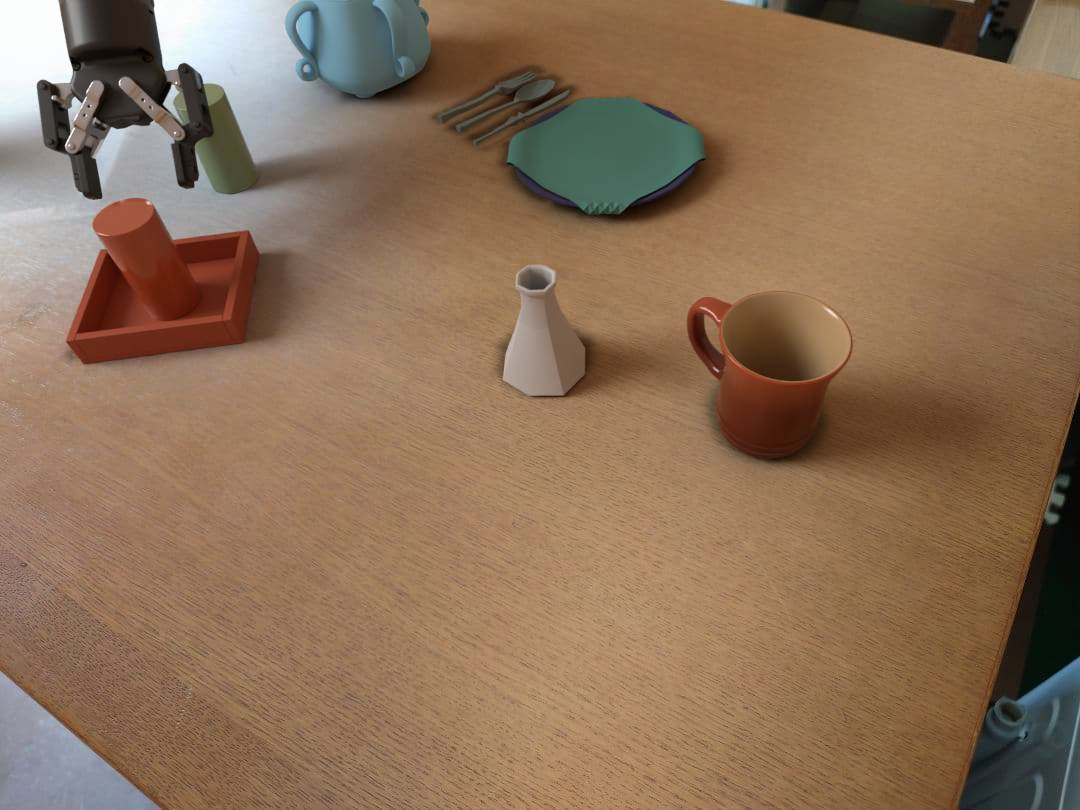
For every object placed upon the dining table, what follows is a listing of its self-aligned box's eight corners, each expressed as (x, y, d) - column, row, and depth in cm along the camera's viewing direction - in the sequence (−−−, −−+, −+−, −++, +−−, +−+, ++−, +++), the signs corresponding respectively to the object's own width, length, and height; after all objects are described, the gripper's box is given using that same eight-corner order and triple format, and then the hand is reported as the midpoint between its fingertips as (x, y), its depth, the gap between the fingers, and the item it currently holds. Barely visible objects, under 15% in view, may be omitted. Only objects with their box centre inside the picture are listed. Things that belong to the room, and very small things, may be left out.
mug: (843, 422, 60) (878, 329, 52) (778, 494, 56) (805, 405, 49) (716, 348, 66) (730, 254, 58) (650, 408, 62) (655, 317, 54)
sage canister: (208, 196, 85) (168, 113, 78) (216, 169, 89) (177, 86, 81) (256, 190, 85) (220, 106, 78) (261, 163, 89) (227, 80, 81)
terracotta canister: (141, 324, 72) (84, 239, 64) (152, 286, 76) (100, 201, 68) (197, 317, 72) (147, 231, 65) (206, 279, 76) (159, 193, 68)
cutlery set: (602, 249, 75) (602, 230, 73) (423, 132, 90) (419, 114, 88) (738, 161, 82) (740, 142, 80) (551, 66, 98) (550, 49, 96)
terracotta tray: (82, 364, 70) (64, 341, 68) (115, 272, 78) (100, 249, 76) (243, 342, 70) (231, 319, 68) (259, 253, 78) (249, 229, 76)
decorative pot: (290, 106, 96) (250, -7, 86) (333, 42, 106) (302, -67, 95) (416, 110, 94) (391, -7, 83) (448, 44, 103) (429, -68, 93)
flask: (521, 328, 69) (510, 239, 61) (598, 346, 67) (597, 256, 59) (489, 387, 65) (472, 299, 57) (570, 408, 63) (564, 320, 55)
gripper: (0, 0, 65) (37, 195, 67) (169, -20, 66) (201, 175, 67) (52, 34, 73) (84, 208, 74) (204, 15, 73) (233, 190, 75)
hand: (140, 192), depth 71 cm, fingers open, 8 cm apart
